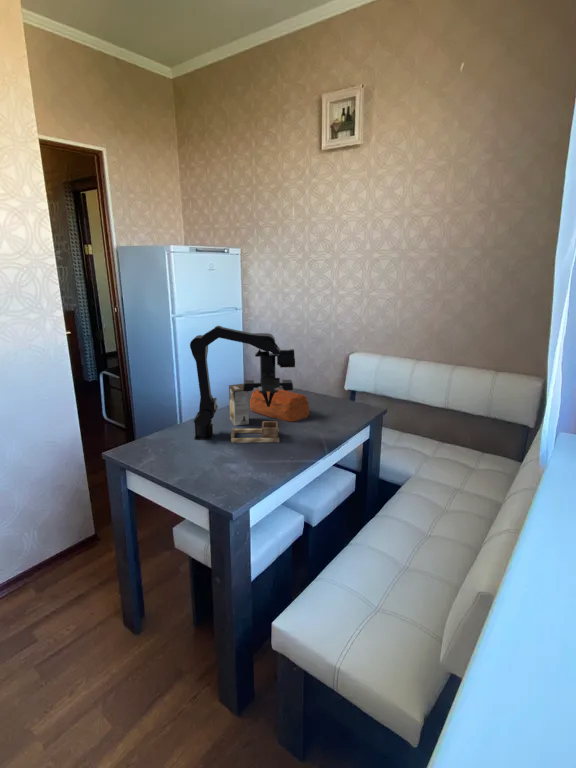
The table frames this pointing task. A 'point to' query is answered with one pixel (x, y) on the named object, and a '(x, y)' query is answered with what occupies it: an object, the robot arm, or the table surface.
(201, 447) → the table surface
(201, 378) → the robot arm
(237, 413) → the coffee box
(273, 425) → the crate
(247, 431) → the beige cubby shelf
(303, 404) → the bread
